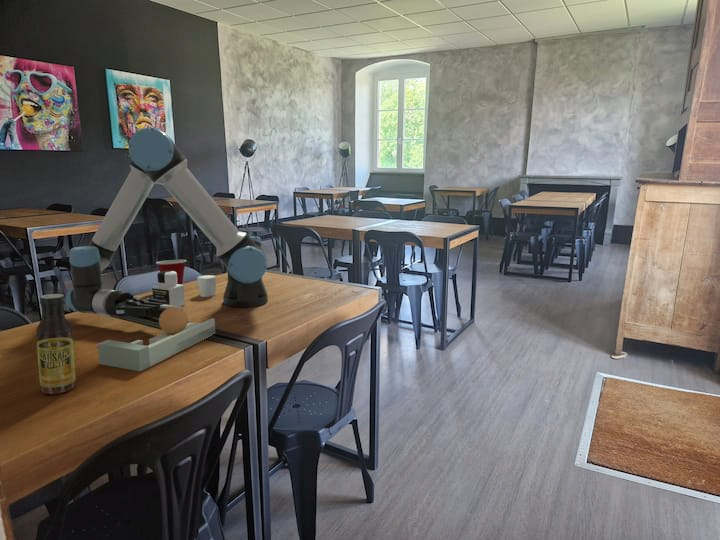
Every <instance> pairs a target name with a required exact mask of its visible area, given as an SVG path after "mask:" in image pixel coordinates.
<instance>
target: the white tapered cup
mask: <svg viewBox="0 0 720 540" xmlns="http://www.w3.org/2000/svg"><path fill="white" fill-rule="evenodd" d="M217 278H218V277H217V275H213V274H205V275H204V274H203V275H199V276H197V277H196V280H197V286H198V292H199V297H202V298H209V297H210V296H211V297H215V296H216V295H217ZM214 295H215V296H214Z"/></svg>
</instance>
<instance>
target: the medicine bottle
mask: <svg viewBox="0 0 720 540" xmlns="http://www.w3.org/2000/svg"><path fill="white" fill-rule="evenodd" d="M177 283H178V282H177V273H176V272H175V271H161V272H160V271H159V272H157V285H155V286H152V290H151V292H152V297H153V298H154V299H158V300H163V301H167V302H168V303H169V305H174V306H182V307H184V306H185V304H186V301H185V300H186V299H185V285H184V284H182V285H181V284H177Z"/></svg>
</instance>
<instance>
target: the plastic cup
mask: <svg viewBox="0 0 720 540" xmlns="http://www.w3.org/2000/svg"><path fill="white" fill-rule="evenodd" d="M186 263H187V259H168V260H160V261H156V262H155V264H156V265H157V267H158V270H159V272H161V271H175V272H176V273H177V282H178V283H177V284H181V285H184V284H183V282H184V275H185V268H186V267H185V266H186Z"/></svg>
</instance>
